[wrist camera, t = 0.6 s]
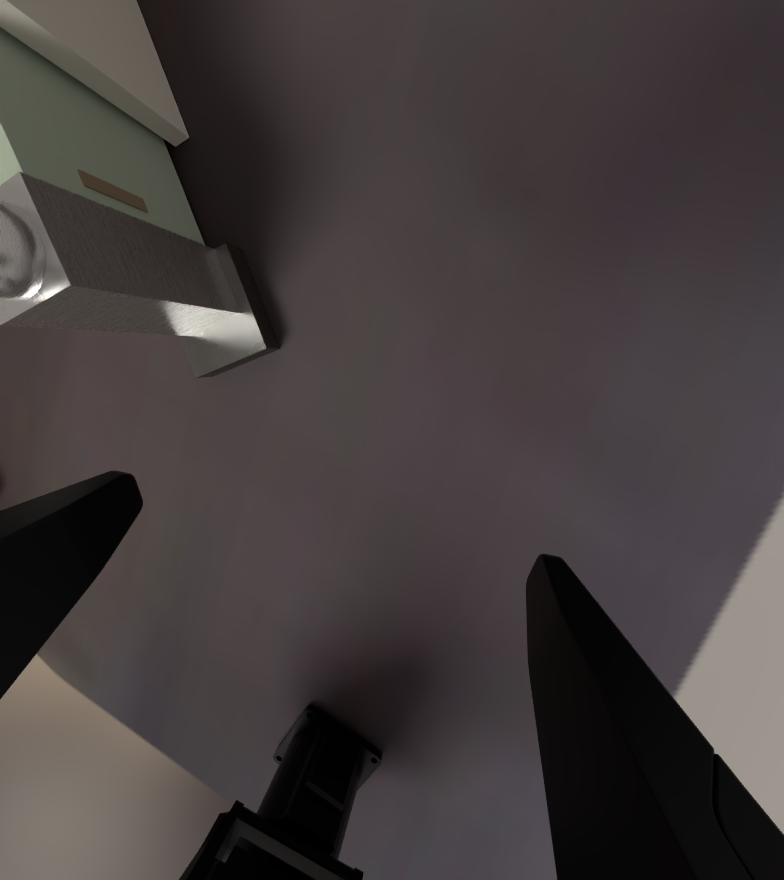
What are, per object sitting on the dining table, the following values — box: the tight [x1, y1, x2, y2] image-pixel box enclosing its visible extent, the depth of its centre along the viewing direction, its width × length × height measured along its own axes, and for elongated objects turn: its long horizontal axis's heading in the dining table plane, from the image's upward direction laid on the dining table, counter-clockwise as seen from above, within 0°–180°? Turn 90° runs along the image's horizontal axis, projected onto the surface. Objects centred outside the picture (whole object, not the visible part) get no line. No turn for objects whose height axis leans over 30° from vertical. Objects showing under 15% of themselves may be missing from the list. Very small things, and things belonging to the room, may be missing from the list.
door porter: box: [0, 172, 280, 378], centre depth 17 cm, size 6×5×12 cm
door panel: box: [0, 27, 205, 245], centre depth 16 cm, size 12×1×9 cm, turn 20°
